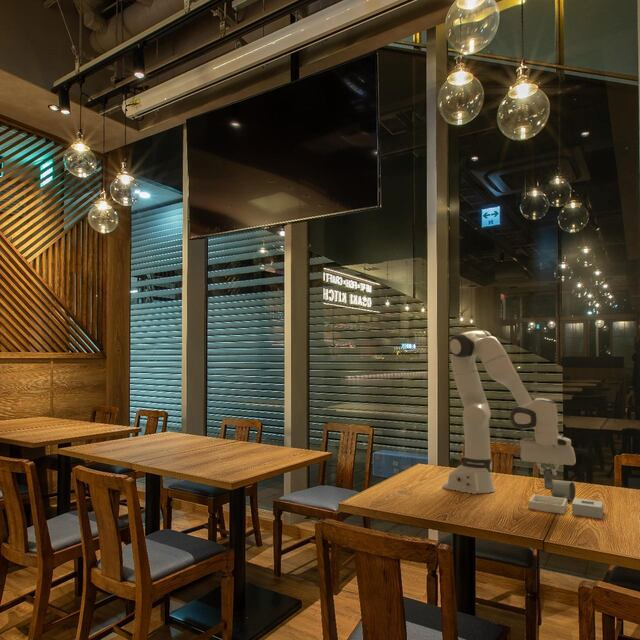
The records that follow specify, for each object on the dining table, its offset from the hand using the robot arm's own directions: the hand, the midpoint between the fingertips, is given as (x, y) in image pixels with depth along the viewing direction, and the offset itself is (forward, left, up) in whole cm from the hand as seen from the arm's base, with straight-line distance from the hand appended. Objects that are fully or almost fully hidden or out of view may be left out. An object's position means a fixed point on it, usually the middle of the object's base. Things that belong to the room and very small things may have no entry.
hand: (548, 474), depth 206 cm
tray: (0, 0, -13) cm, 13 cm away
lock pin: (0, 0, -6) cm, 6 cm away
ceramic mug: (+3, +17, -13) cm, 22 cm away
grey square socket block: (+14, 0, -13) cm, 19 cm away
